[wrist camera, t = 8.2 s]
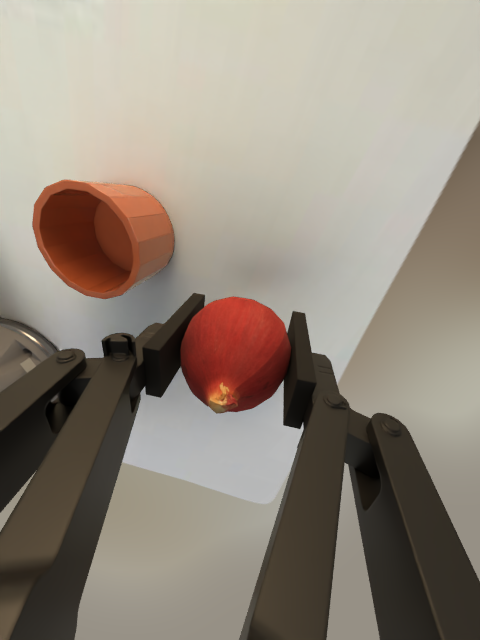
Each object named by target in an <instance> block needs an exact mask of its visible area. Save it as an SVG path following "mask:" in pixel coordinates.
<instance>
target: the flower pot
mask: <svg viewBox="0 0 480 640" xmlns="http://www.w3.org/2000/svg"><path fill="white" fill-rule="evenodd" d="M32 225H33V230H34V234H35V238H36V241H37V245H38V248H39V250H40V252H41V253H42V255H43V257H44V258H45V260H46V262H47V263H48V265H49V267H50V268H51V270H52V271H53V272H54V273H55V274H56V275H57V276H59V277H60V278H61V279H62V280H63V281H64V282H65V283H66V284H67V285H68V286H69V287H71V288H73V289H75V290H77V291H78V292H80V293H82V294H84V295H86V296H90V297H96V298H101V299H108V298H112V297H116V296H120V295H123V294H124V293H126V292H128V291H129V290H131V289H133V288H134V287H136V286H138V285H139V284H141V283H143V282H144V281H146V280H148V279H149V278H151V277H153V276H154V275H156V274H157V273H158V272H160V271H161V270H162V269H164V268H165V266H166V265H167V264H168V263H169V261H170V259H171V257H172V254H173V250H174V232H173V228H172V224H171V221H170V219H169V217H168V215H167V213H166V211H165V210H164V208H163V207H162V206H161V204H160V203H159V202H158V201H157V200H156V199H155V198H154V197H153V196H152V195H150V194H149V193H147V192H146V191H144V190H142V189H140V188H137V187H134V186H130V185H121V184H112V183H100V182H89V181H77V180H61V181H59V182H57V183H54V184H52V185H50V186H47V187H46V188H44V190H43V192H42V193H41V195H40V196H39V198H38V199H37V201H36V202H35V204H34V213H33V223H32Z"/></svg>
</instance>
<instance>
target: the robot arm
mask: <svg viewBox="0 0 480 640" xmlns="http://www.w3.org/2000/svg"><path fill="white" fill-rule="evenodd" d="M204 302H205V295H202V294H196V293H193V294H192V296H191V297H190V298H189V299H188V300H187V301H186V302H185V303H184V304H183V305H182V306H181V307H180V308H179V309H178V310H177V311H176V312H175V313H174V314H173V315H172V316H171V317H170V319H169V320H168V321H167V322H166V323H165V324H160V323H154V324H152V325H150V326H148V327H147V328H146V329H145V330H144V331H143V332H142V333H141V334H140V335H139V336H137V337H136V338H134V336H133V335H130V334H127V333H116V334H112V335H109V336H107V337H105V338H104V339H103V340H102V347H103V353H104V358H86V357H85V353H84V352H83V351H82V350H79V349H65V350H62V351H57V350H56V349H55V347H54V346H53V345H52V344H51V343H50V342H49V341H48V340H46V339H45V338H44V337H43V336H42V335H40V334H39V333H37V332H36V331H34V330H33V329H31V328H29V327H27V326H25V325H23V324H21V323H19V322H16V321H13V320H9V319H2V318H0V512H1V511H2V510H3V509H4V507H6V505H7V504H8V503H9V502H10V500H12V498H13V497H14V496H15V495H16V494H17V492H18V491H19V490H20V489H21V487H23V485H24V484H25V483H26V482H27V481H28V479H29V478H30V477H31V476H32V475H33V474H34V473H35V471H36V470H37V471H36V473H35V474H34V476H33V478H32V479H31V481H30V483H29V484H28V486H27V488H26V490H25V491H24V493H23V495H22V496H21V498H20V500H19V501H18V503H17V505H16V506H15V508H14V510H13V511H12V513H11V515H10V516H9V518H8V520H7V522H6V524H5V525H4V527H3V528H2V530H1V532H0V640H74V638H75V633H76V627H77V616H78V608H79V604H80V600H81V596H82V593H83V589H84V586H85V583H86V579H87V576H88V573H89V569H90V566H91V563H92V559H93V556H94V553H95V550H96V546H97V543H98V540H99V536H100V533H101V530H102V526H103V523H104V520H105V516H106V513H107V510H108V506H109V503H110V500H111V497H112V493H113V490H114V486H115V483H116V480H117V476H118V473H119V470H120V466H121V463H122V460H123V457H124V453H125V450H126V447H127V443H128V440H129V437H130V433H131V430H132V427H133V423H134V420H135V417H136V413H137V410H138V407H139V403H140V400H141V395H140V392H141V391H142V389H143V388H144V387H145V388H146V394H147V395H152V396H156V397H160V398H161V397H162V395H163V394H164V392H165V391H166V389H167V387H168V386H169V384H170V383H171V381H172V379H173V378H174V376H175V374H176V373H177V371H178V370H179V368H180V366H181V352H180V349H181V342H182V339H183V337H184V335H185V332H186V330H187V328H188V325H189V323H190V321H191V320H192V318H193V317H194V316H195V315H196V314H197V313H198V312H199V311H200V310H202V309H203V308H204ZM287 335H288V339H289V342H290V345H291V355H290V361H289V365H288V370H287V374H286V376H285V378H284V419H283V425H285V426H289V427H294V428H298V429H300V428H301V426H302V423H303V425H304V430H303V433H302V436H301V438H300V441H299V444H298V446H297V448H298V449H297V452H296V455H295V458H294V462H293V465H292V468H291V472H290V475H289V478H288V481H287V485H286V488H285V491H284V495H283V498H282V501H281V504H280V508H279V511H278V514H277V517H276V521H275V524H274V527H273V531H272V534H271V537H270V541H269V544H268V547H267V550H266V553H265V557H264V560H263V563H262V567H261V570H260V573H259V577H258V580H257V583H256V586H255V590H254V593H253V596H252V599H251V602H250V606H249V609H248V612H247V616H246V619H245V622H244V625H243V629H242V632H241V635H240V638H239V640H326V637H327V627H328V618H329V608H330V598H331V589H332V579H333V569H334V559H335V549H336V540H337V530H338V519H339V511H340V501H341V491H342V481H343V472H344V462H345V463H347V464H348V465H349V471H350V476H351V482H352V487H353V492H354V498H355V504H356V509H357V515H358V520H359V526H360V531H361V537H362V543H363V547H364V554H365V559H366V565H367V570H368V575H369V581H370V587H371V592H372V597H373V603H374V608H375V614H376V620H377V624H378V631H379V636H380V640H480V581H479V579H478V578H477V575H476V573H475V571H474V569H473V567H472V565H471V562H470V560H469V558H468V556H467V554H466V552H465V549H464V547H463V545H462V543H461V541H460V539H459V537H458V535H457V532H456V530H455V528H454V526H453V524H452V522H451V520H450V518H449V516H448V514H447V511H446V509H445V507H444V505H443V503H442V501H441V498H440V496H439V494H438V492H437V490H436V488H435V486H434V484H433V482H432V479H431V477H430V475H429V473H428V471H427V469H426V466H425V464H424V462H423V460H422V458H421V456H420V454H419V452H418V449H417V447H416V445H415V443H414V441H413V439H412V437H411V435H410V433H409V431H408V430H407V428H406V427H405V426H404V425H403V424H402V423H401V422H400V421H399V420H397V419H395V418H394V417H392V416H390V415H387V414H384V413H377V414H374V415H373V416H372V418H368V417H366V416H364V415H362V414H360V413H357V412H355V411H354V410H352V409H351V408H350V407H349V403H348V402H347V400H346V399H345V398H344V397H343V396H342V395H340V393H339V390H338V386H337V383H336V379H335V375H334V372H333V370H332V369H333V368H332V365H331V362H330V360H329V359H328V358H327V357H326V356H325V355H322V354H317V353H312V352H311V346H310V340H309V335H308V329H307V323H306V317H305V313H301V312H295V311H293V313H292V317H291V321H290V325H289V329H288V333H287Z"/></svg>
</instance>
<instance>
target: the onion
mask: <svg viewBox="0 0 480 640" xmlns="http://www.w3.org/2000/svg"><path fill="white" fill-rule="evenodd" d="M180 352H181V368H182V373H183V375H184V377H185V379H186V382H187V384H188V386H189V388H190V390H191V391H192V393H193V394H194V395H195V396H196V397H197V398H198V399H200V400H201V401H202V402H203V403H204V404H205V405H207V406H209V407H210V408H211V409H212V410H213V411H214V412H215V413H224V412H227V411H229V412H239V411H243V410H248V409H252V408H254V407H256V406H257V405H259V404H261V403H262V402H264V401H265V400H267V399H269V398H270V397H272V395H273V394H274V393H275V392H276V390H277V389H278V387H279V386H280V384H281V383H282V381H283V380H284V378H285V376H286V374H287V370H288V365H289V361H290V355H291V345H290V342H289V339H288V335H287V332H286V328H285V325H284V323H283V322H282V320H281V319H280V318H279V317H278V316H277V315H276V314H275V313H274V312H273V311H272V309H270V308H268V307H266V306H264V305H262V304H260V303H258V302H257V301H255V300H252V299H246V298H239V297H229V298H224V299H220V300H216V301H213V302H211V303H209V304H207V305H206V306H205V307H204V308H203V309H202V310H200V311H199V312H198V313H197V314H196V315H195V316H194V317H193V318H192V320H191V321H190V323H189V325H188V328H187V330H186V332H185V335H184V337H183V339H182V342H181V349H180Z"/></svg>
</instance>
